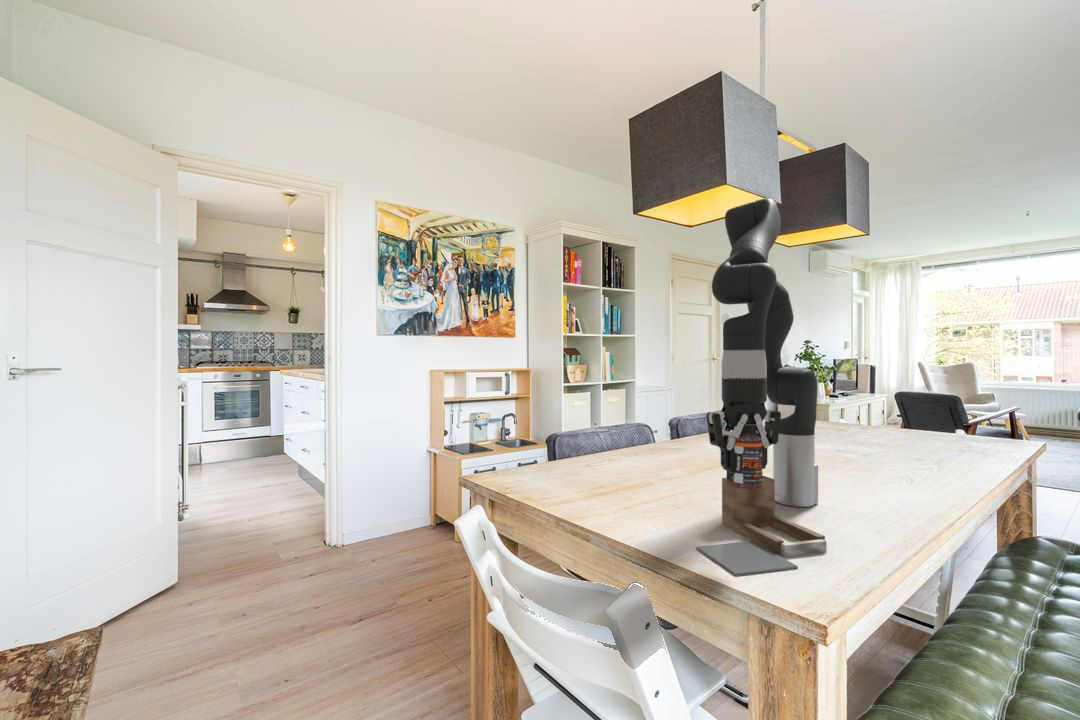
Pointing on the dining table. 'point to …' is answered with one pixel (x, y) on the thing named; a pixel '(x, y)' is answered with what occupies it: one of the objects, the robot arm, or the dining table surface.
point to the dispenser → (765, 520)
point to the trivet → (745, 558)
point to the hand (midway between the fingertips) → (744, 468)
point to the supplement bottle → (747, 460)
